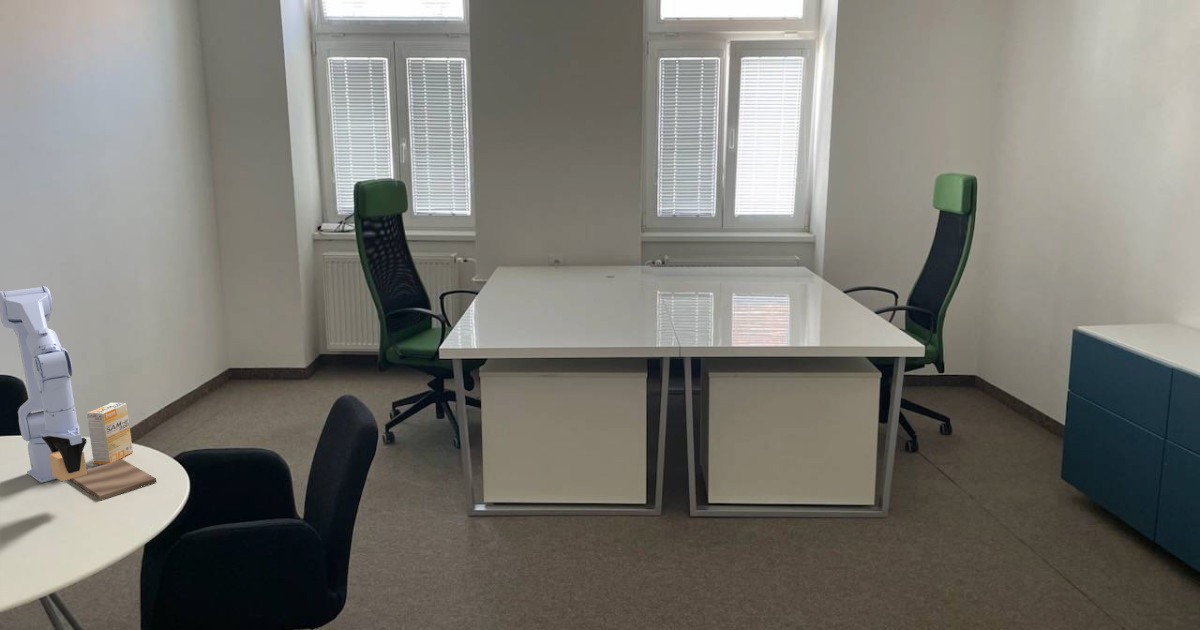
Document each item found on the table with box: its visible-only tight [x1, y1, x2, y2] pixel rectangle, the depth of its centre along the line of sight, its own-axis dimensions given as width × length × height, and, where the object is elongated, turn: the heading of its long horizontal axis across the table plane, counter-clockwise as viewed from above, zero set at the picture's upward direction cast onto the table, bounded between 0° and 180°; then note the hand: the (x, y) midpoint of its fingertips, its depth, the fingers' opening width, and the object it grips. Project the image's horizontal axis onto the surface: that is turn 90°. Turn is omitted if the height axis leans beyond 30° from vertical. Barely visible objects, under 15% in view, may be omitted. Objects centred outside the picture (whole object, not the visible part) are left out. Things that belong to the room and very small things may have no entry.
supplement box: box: [86, 402, 134, 465], centre depth 217 cm, size 8×5×13 cm, turn 168°
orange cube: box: [49, 451, 87, 482], centre depth 191 cm, size 5×5×5 cm
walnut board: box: [68, 458, 157, 501], centre depth 206 cm, size 18×12×1 cm, turn 50°
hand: (68, 468), depth 192 cm, fingers closed on orange cube, 5 cm apart
